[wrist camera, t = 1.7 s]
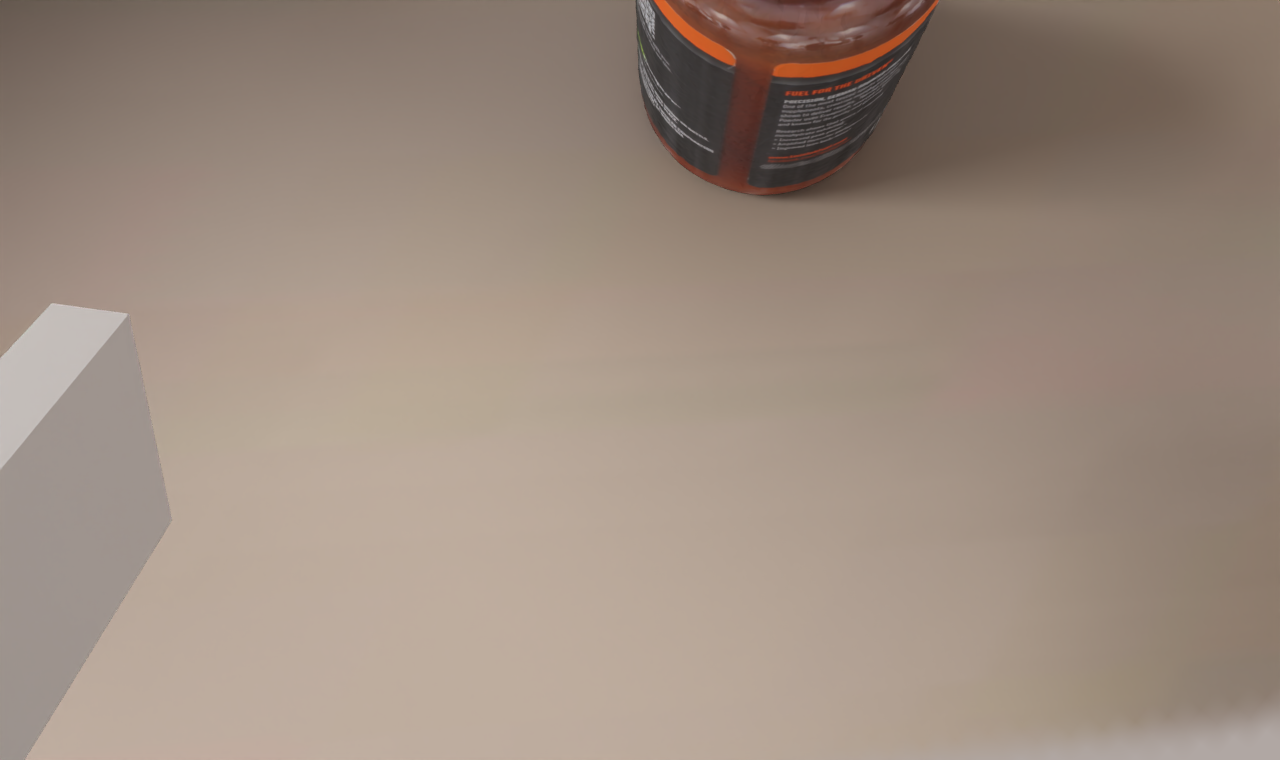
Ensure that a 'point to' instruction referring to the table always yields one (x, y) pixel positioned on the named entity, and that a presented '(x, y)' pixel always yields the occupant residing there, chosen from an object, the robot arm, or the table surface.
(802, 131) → the supplement bottle
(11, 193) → the table surface
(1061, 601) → the table surface
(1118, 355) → the table surface
